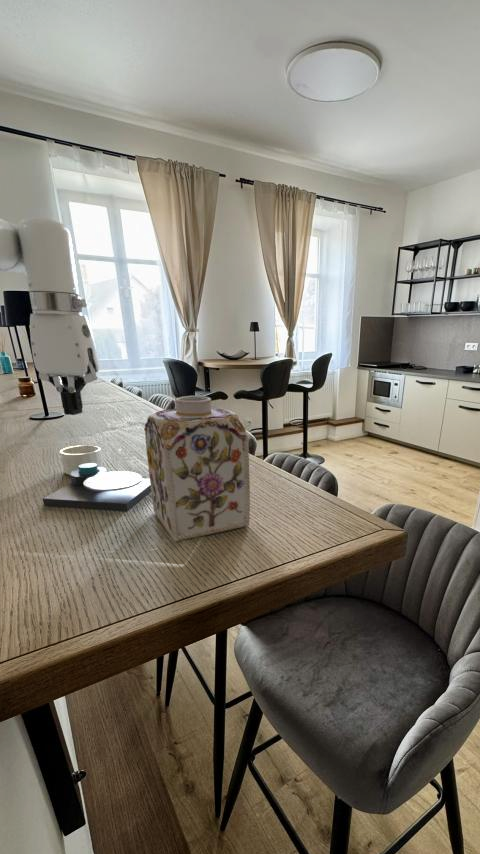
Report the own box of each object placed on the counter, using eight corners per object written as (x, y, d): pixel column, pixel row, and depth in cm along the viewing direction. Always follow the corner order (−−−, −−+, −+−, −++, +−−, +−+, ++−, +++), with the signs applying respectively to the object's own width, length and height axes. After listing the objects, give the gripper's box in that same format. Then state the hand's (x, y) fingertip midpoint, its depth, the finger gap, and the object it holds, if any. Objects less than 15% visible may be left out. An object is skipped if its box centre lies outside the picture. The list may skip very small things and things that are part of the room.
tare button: (76, 475, 72) (74, 467, 71) (85, 470, 75) (84, 462, 74) (92, 476, 72) (91, 468, 71) (101, 471, 74) (100, 463, 74)
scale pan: (72, 489, 64) (71, 487, 64) (102, 472, 73) (101, 470, 73) (126, 493, 63) (126, 490, 63) (150, 475, 72) (150, 473, 72)
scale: (41, 506, 66) (37, 488, 65) (85, 481, 77) (82, 466, 76) (127, 512, 64) (125, 494, 63) (158, 485, 76) (157, 470, 74)
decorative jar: (222, 500, 69) (218, 390, 63) (252, 526, 60) (251, 401, 53) (150, 513, 64) (137, 394, 57) (171, 544, 54) (158, 407, 48)
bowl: (56, 476, 80) (51, 453, 78) (77, 465, 86) (73, 444, 85) (91, 478, 79) (87, 455, 77) (109, 467, 86) (106, 446, 84)
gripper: (109, 308, 73) (121, 412, 80) (32, 306, 75) (50, 408, 81) (84, 305, 66) (100, 419, 73) (0, 303, 68) (23, 415, 75)
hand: (73, 413), depth 77 cm, fingers closed
